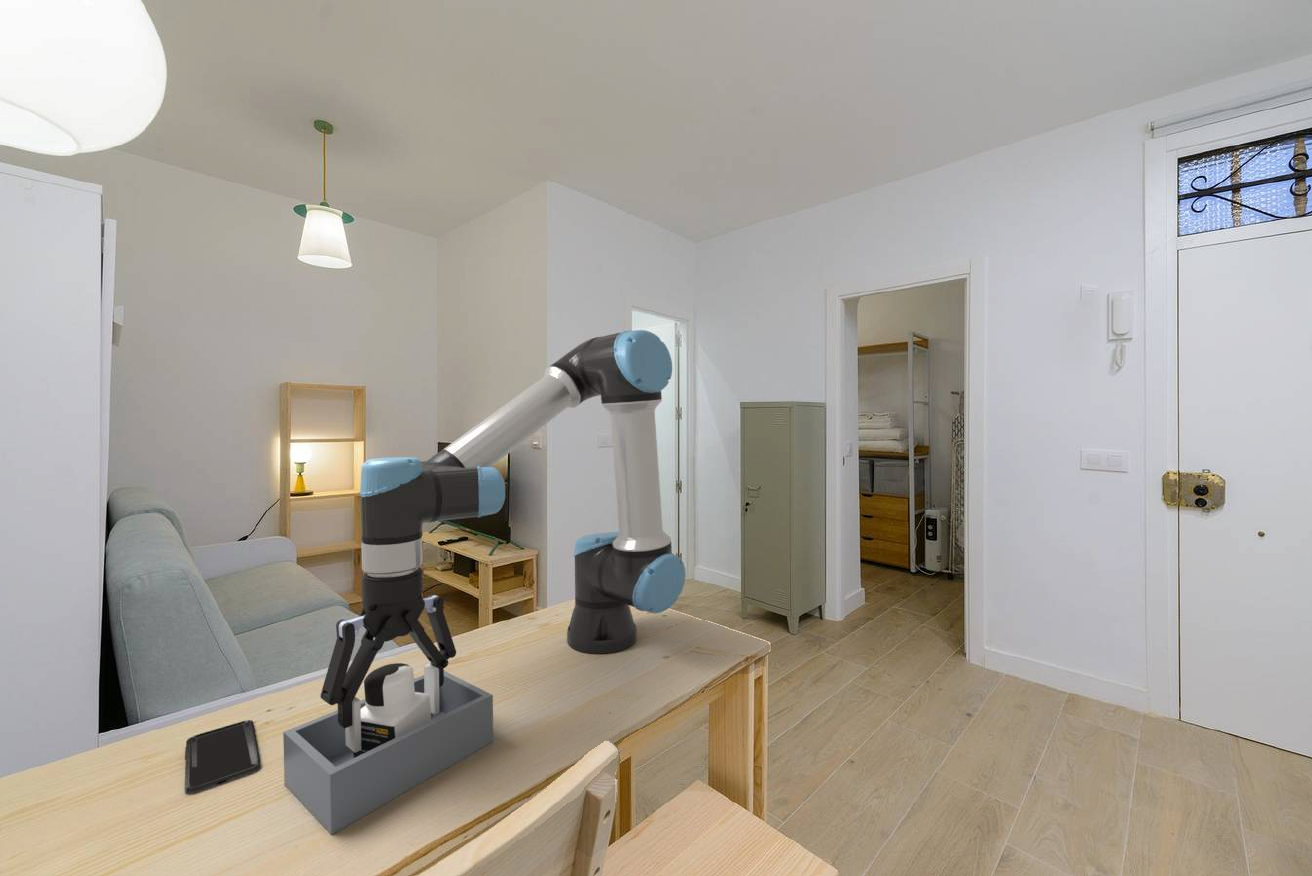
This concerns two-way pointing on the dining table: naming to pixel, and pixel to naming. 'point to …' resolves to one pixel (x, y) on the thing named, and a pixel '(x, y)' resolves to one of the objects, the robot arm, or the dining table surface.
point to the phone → (221, 756)
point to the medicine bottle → (391, 706)
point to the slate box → (382, 755)
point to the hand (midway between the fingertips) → (395, 727)
